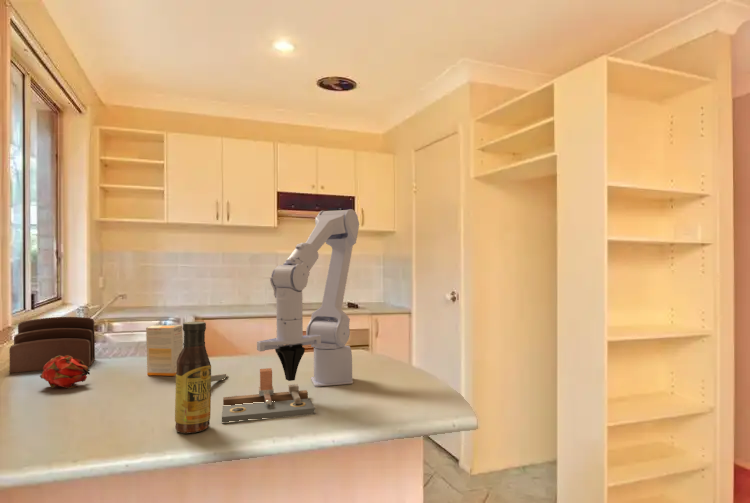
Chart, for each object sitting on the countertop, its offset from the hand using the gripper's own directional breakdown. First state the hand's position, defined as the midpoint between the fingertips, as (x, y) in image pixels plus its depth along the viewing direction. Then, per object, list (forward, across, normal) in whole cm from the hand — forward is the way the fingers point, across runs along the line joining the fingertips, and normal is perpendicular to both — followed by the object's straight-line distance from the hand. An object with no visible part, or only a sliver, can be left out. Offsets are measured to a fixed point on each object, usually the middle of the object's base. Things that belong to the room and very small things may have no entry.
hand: (290, 379), depth 110 cm
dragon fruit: (+5, +41, -43) cm, 60 cm away
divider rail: (+4, +6, +2) cm, 8 cm away
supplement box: (+5, +18, -42) cm, 46 cm away
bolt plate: (+4, +8, +6) cm, 11 cm away
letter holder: (+5, +43, -72) cm, 84 cm away
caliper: (+5, +12, -21) cm, 25 cm away
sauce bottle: (+5, +22, +6) cm, 24 cm away
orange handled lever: (+3, +6, +2) cm, 7 cm away
